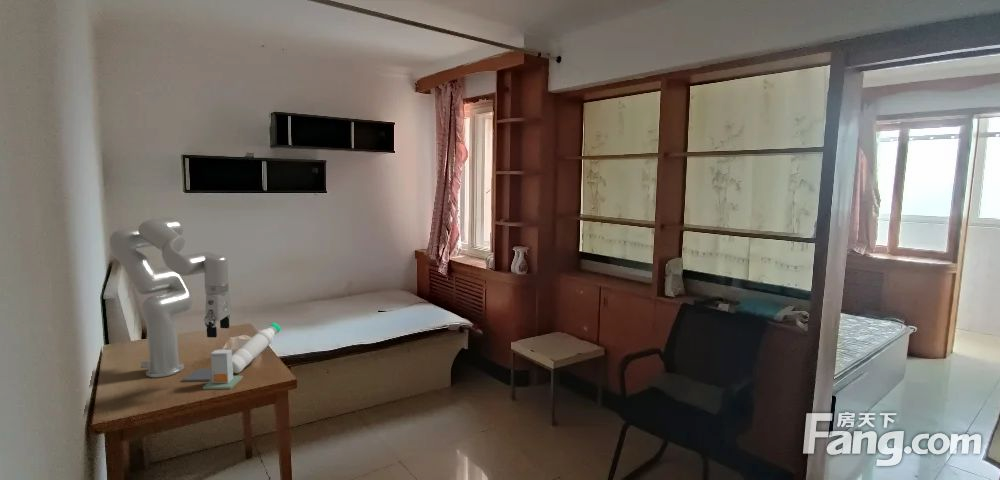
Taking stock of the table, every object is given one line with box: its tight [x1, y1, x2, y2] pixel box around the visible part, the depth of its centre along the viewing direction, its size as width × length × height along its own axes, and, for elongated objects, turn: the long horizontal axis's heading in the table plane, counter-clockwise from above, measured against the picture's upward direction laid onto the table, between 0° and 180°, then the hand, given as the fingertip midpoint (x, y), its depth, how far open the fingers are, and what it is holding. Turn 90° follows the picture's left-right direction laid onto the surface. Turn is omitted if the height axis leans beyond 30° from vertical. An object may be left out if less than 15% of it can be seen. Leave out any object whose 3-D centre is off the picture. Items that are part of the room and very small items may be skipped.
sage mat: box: [202, 375, 244, 390], centre depth 184 cm, size 10×10×1 cm
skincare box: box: [210, 349, 234, 383], centre depth 183 cm, size 6×4×12 cm
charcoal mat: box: [181, 368, 212, 382], centre depth 190 cm, size 10×10×1 cm
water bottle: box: [232, 322, 281, 374], centre depth 200 cm, size 7×7×25 cm
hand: (218, 332), depth 181 cm, fingers open, 9 cm apart
